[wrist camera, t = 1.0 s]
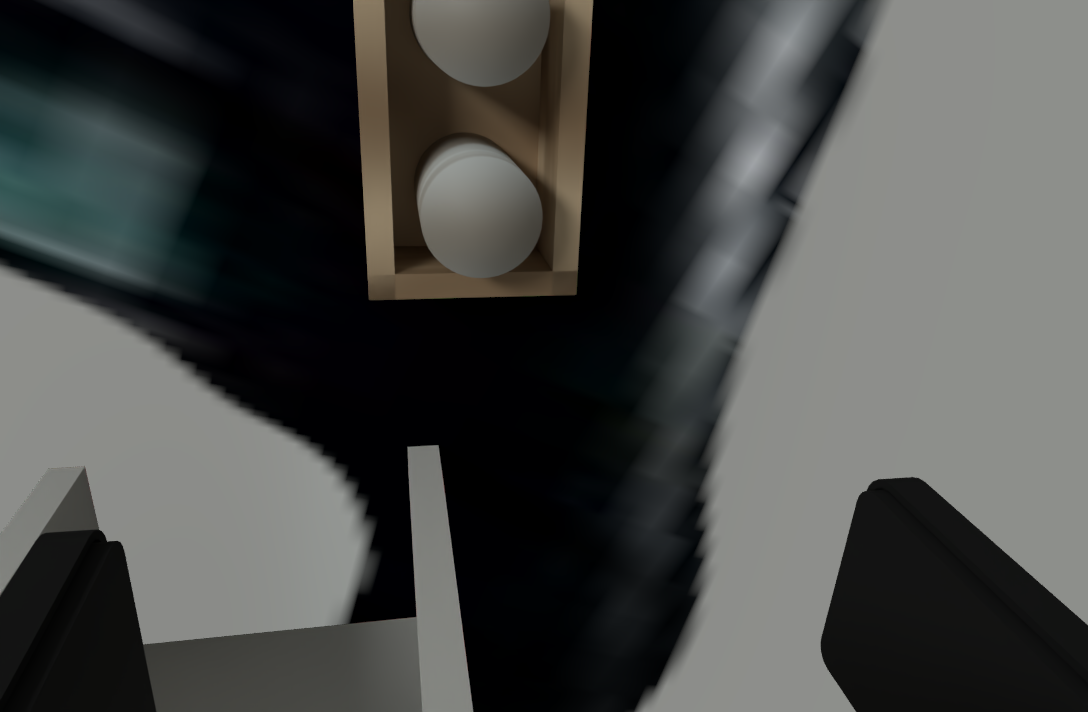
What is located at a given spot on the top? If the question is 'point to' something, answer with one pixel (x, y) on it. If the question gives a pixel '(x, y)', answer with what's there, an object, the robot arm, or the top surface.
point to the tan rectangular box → (301, 654)
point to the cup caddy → (472, 145)
